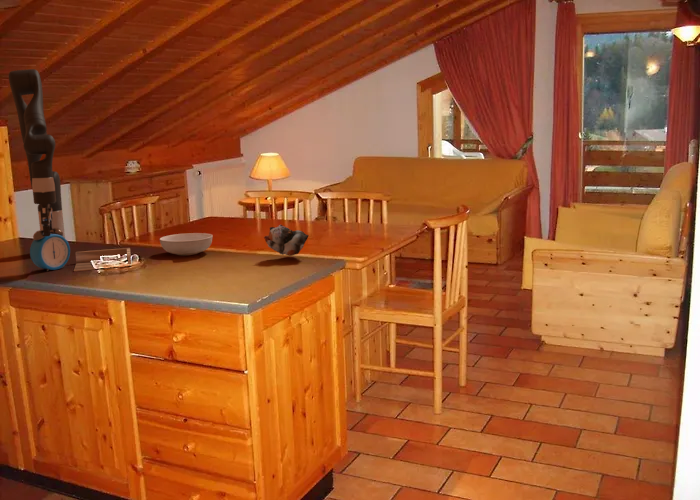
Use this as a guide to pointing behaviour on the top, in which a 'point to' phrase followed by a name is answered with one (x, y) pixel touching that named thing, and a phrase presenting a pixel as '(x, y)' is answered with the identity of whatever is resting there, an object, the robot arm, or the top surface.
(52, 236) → the alarm clock
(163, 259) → the top surface
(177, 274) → the top surface
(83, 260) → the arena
